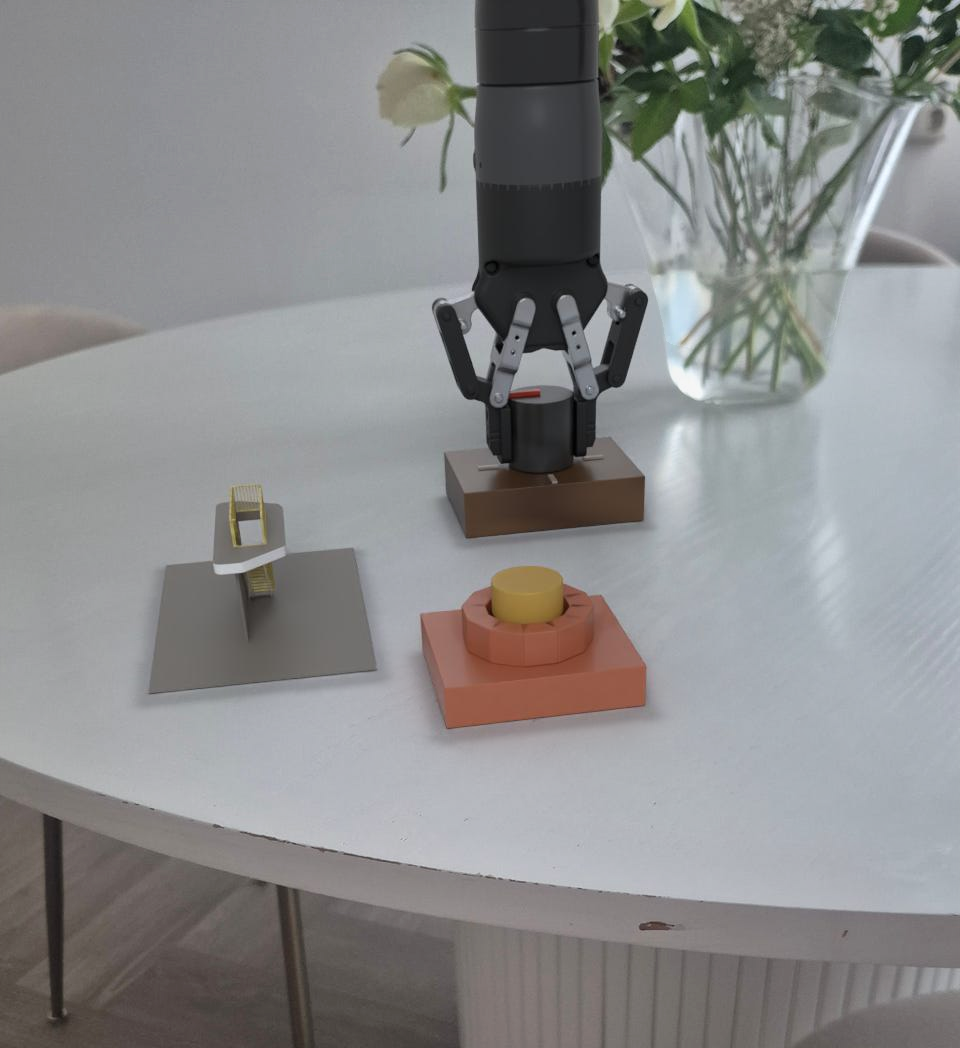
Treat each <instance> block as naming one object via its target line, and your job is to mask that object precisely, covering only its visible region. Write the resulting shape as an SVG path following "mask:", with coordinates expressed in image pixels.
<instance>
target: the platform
mask: <svg viewBox="0 0 960 1048" xmlns="http://www.w3.org/2000/svg"><path fill="white" fill-rule="evenodd" d="M257 486H258V487H257ZM247 487H248V489H247ZM250 487H251V488H250ZM262 487H263V486H262V483H251V484H240V485H230V486H229V501H226V502H220V503H217V504H216V505H215V513H214V515H215V517H214V535H213V550H212V551H213V553H212V560H207V561H206V560H205V561H195V562H184V563H175V564H174V563H173V564H166V565H165V571H164V578H163V585H162V592H161V600H160V606H159V607H160V608H159V615H158V622H157V628H156V629H157V630H156V636H155V644H154V651H153V658H152V664H151V672H150V679H149V688H148V694H156V693H167V692H177V691H184V690H185V691H186V690H193V689H194V690H197V689H205V688H215V687H225V686H233V685H243V684H252V683H253V684H255V683H263V682H273V681H282V680H291V679H299V678H300V679H301V678H311V677H320V676H321V677H322V676H329V675H338V674H349V673H358V672H359V673H360V672H368V671H376V670H377V664H376V659H375V654H374V650H373V644H372V639H371V634H370V633H371V632H370V630H369V623H368V618H367V613H366V608H365V603H364V597H363V592H362V587H361V583H360V577H359V572H358V567H357V562H356V556H355V552H354V547H344V548H334V549H323V550H313V551H301V552H291V553H290V552H289V553H288V552H287V541H286V539H287V538H286V528H285V527H286V526H285V515H284V508H283V506H282V505H281V504H279V503H274V502H264V495H263V494H264V493H263V488H262ZM244 488H245V491H244ZM254 488H255V493H254ZM241 489H242V491H241ZM257 489H258V491H257ZM251 491H252V494H251ZM238 492H239V494H238ZM248 492H249V493H248ZM235 493H236V494H235ZM258 493H259V496H258ZM245 494H246V496H245ZM248 494H249V496H248ZM242 496H243V497H242ZM255 496H256V499H255ZM239 497H240V499H239ZM245 497H246V498H245ZM252 497H253V500H252ZM258 497H259V498H258ZM242 498H243V499H242ZM236 499H237V500H236ZM246 500H247V501H246ZM249 500H250V501H249ZM258 520H259V521H260V525H261V532H262V539H263V543H254V544H253V543H252V544H242V536H241V531H240V524H239V522H248V521H258Z"/></svg>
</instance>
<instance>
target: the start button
mask: <svg viewBox="0 0 960 1048" xmlns="http://www.w3.org/2000/svg"><path fill="white" fill-rule="evenodd" d="M563 583H564V578H563V575H562V574H561V573H560V572H558V571H557V570H555V569H553V568H549V567H545V566H538V565H520V566H513V567H507V568H504V569H502V570H500V571H498V572H497V573H495V574H493V576H492V577H491V580H490V586H491V599H492V614H493V616H494V617H495V618H497V619H499V620H502V621H507V622H516V623H524V624H528V623H538V622H547V621H550V620H552V619H555V618H557V617H560V616H561V614H562V612H563Z"/></svg>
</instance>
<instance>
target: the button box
mask: <svg viewBox="0 0 960 1048" xmlns="http://www.w3.org/2000/svg"><path fill="white" fill-rule="evenodd" d="M606 601H607V600H605V598H604V596H603V595H602V594H593V595H588V593H587V592H585V591H583V590H581V589H578V588H576V587H574V586H571V585H569V584H566V583H564V582H563V612H562V614H561V616H560V617H557V618H555V619H552V620H550V621H547V622H538V623H528V624H524V623H516V622H507V621H502V620H499V619H497V618H495V617H494V616H493V614H492V599H491V585H489V586H487V587H484V588H482V589H479V590H476V591H473V592H472V593H471V594H470V596H468V598H467V599H466V600H465V601H464V602H463V603H462V604H461V608H460V609H450V610H440V611H432V612H422V613H420V614H419V618H420V632H421V646H422V653H423V656H424V658H425V661H426V665H427V669H428V672H429V676H430V678H431V682H432V685H433V688H434V691H435V695H436V698H437V701H438V705H439V709H440V710H441V715H442V718H443V721H444V724H445V727H446V729H454V728H462V727H472V726H479V725H489V724H496V723H505V722H515V721H522V720H533V719H540V718H547V717H549V718H550V717H557V716H565V715H574V714H582V713H592V712H601V711H607V710H616V709H625V708H626V709H627V708H634V707H635V708H636V707H642V706H643V707H644V706H646V692H647V691H646V689H647V668H648V667H647V664H646V663H645V661H644V659H643V658H642V657H641V655H640V653H639V651H638V650H637V649H636V647H635V645H634V644H633V643H632V641H631V639H630V638H629V636H628V634H627V633H626V632H625V629H624V628H623V626H622V625H621V623H620V621H619V620H618V619H617V617H616V615H615V614H614V612H613V611H612V609H611V607H610V606H609V604H608V603H607V602H606Z"/></svg>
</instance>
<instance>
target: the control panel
mask: <svg viewBox="0 0 960 1048" xmlns="http://www.w3.org/2000/svg"><path fill="white" fill-rule="evenodd" d="M443 461H444V463H443V464H444V478H445V479H444V481H445V494H446V496H447V498H448V500H449V503H450V505H451V507H452V510H453V512H454V514H455V516H456V518H457V520H458V524H459V525H460V527H461V530H462V531H463V534H464V536H465V538H467V539H469V538H478V537H489V536H498V535H508V534H519V533H530V532H538V531H548V530H549V531H550V530H559V529H560V530H561V529H569V528H570V529H571V528H579V527H590V526H600V525H610V524H621V523H630V522H639V521H644V520H645V497H646V496H645V494H646V493H645V492H646V489H645V488H646V475H645V474H644V473H643V472H642V471H641V469H639V467H637V465H636V464H635V463H634V462H633V461H632V460H631V458H630V457H629V456H628V455H627V454H626V452H624V450H623V449H622V448H621V447H620V446H619V445H618V443H617V442H616V441H615V440H614V439H613V437H611V436H604V437H602V436H601V437H596V439H595V442H594V445H593V447H587V454H586V456H584V457H575V456H574V462H573V464H572V465H571V466H570V467H568V468H566V469H563V470H559V471H555V472H547V473H531V472H523V471H519V470H516V469H513V468H512V467H510V465H509V463H506V464H501V463H500V462H499V460H498V458H497V455H496V456H493V454H492V453H491V451H490V449H489V447H483V448H471V449H460V450H449V451H444V452H443Z"/></svg>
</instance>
